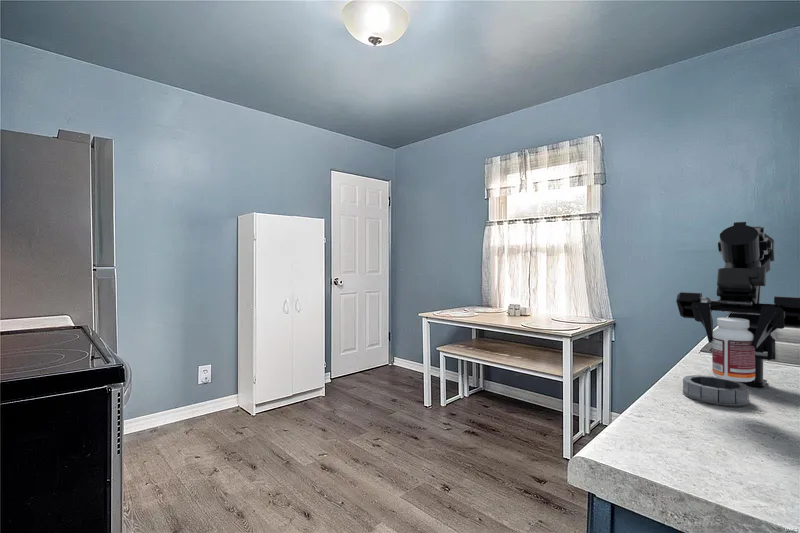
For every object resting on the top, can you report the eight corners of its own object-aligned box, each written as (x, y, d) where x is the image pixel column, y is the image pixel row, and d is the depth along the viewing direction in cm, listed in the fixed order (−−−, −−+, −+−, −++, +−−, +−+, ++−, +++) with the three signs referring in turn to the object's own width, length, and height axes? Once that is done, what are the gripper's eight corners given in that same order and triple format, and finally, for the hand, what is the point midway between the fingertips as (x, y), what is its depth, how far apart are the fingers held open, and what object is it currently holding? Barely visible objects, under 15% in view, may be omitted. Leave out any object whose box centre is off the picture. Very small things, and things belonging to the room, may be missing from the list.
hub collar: (689, 385, 90) (689, 372, 90) (753, 397, 82) (753, 382, 82) (676, 397, 82) (676, 382, 82) (745, 411, 75) (745, 395, 75)
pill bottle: (760, 378, 74) (760, 319, 74) (748, 385, 70) (749, 323, 70) (719, 370, 79) (719, 315, 79) (706, 376, 76) (706, 318, 75)
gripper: (678, 253, 84) (664, 312, 76) (805, 251, 70) (802, 322, 63) (687, 288, 89) (674, 345, 82) (806, 292, 76) (803, 362, 68)
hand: (731, 343), depth 74 cm, fingers closed on pill bottle, 6 cm apart
